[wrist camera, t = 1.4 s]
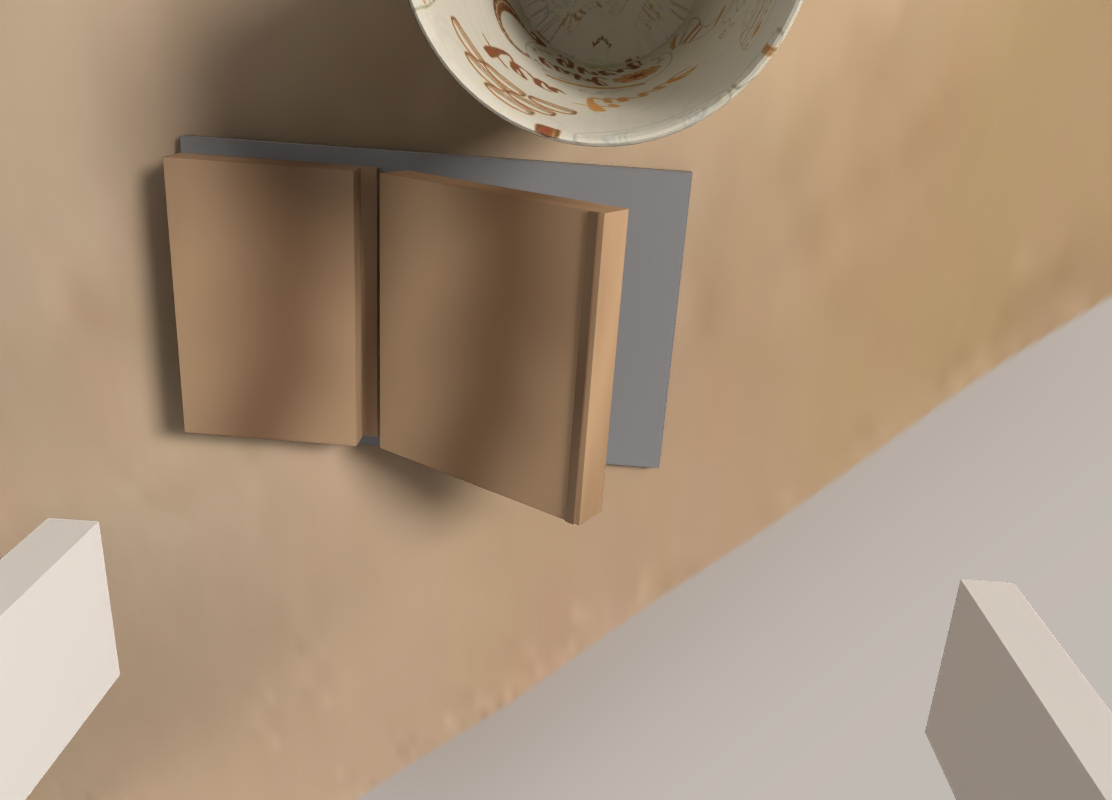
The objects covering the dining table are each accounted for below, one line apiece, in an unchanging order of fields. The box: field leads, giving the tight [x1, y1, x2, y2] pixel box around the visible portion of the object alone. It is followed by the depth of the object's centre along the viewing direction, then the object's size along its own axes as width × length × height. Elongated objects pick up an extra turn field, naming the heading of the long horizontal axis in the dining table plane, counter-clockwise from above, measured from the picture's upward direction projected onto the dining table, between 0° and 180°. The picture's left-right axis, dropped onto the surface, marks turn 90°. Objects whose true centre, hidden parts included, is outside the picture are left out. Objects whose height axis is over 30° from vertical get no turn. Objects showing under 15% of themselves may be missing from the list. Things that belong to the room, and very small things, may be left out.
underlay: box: [180, 135, 692, 468], centre depth 32 cm, size 16×10×1 cm, turn 86°
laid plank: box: [163, 153, 380, 446], centre depth 31 cm, size 6×9×1 cm
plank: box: [380, 170, 629, 525], centre depth 29 cm, size 8×9×1 cm
